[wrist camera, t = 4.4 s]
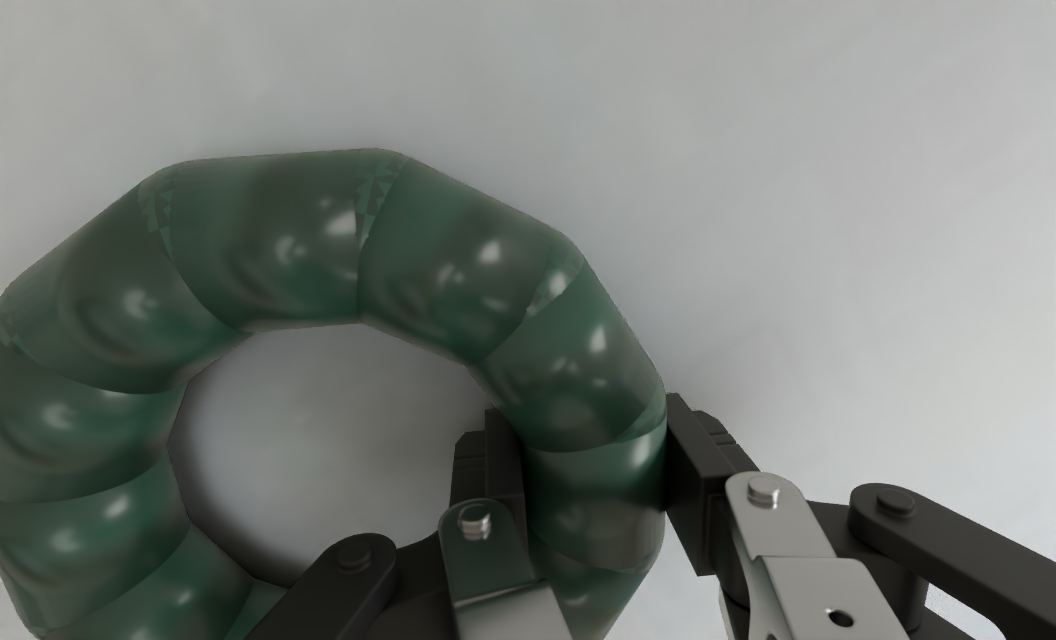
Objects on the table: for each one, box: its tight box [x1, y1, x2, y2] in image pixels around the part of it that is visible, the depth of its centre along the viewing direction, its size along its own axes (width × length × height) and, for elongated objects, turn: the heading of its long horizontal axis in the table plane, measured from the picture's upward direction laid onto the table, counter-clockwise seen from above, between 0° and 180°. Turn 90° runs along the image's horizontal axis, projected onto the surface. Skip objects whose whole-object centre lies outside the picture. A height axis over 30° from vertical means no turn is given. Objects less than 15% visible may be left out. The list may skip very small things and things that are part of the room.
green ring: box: [0, 148, 667, 640], centre depth 12 cm, size 14×14×3 cm
